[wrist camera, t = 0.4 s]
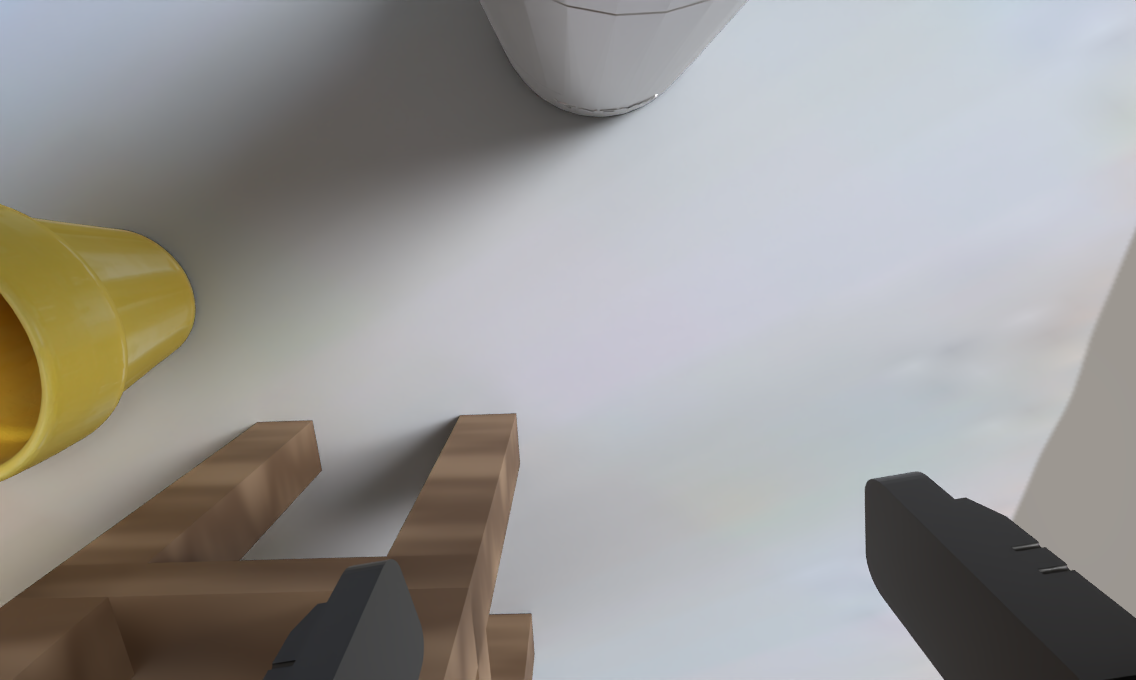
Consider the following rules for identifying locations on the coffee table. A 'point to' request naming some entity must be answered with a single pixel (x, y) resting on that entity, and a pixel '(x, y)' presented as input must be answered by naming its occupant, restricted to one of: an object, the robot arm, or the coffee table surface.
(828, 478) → the coffee table surface
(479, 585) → the walnut stand
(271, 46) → the coffee table surface
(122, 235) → the plant pot
